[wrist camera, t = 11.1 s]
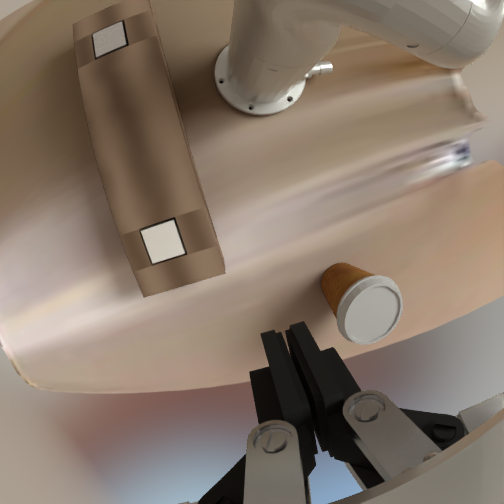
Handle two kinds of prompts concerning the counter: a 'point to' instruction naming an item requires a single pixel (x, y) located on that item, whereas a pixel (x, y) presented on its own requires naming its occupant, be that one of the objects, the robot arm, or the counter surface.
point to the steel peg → (110, 39)
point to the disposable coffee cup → (362, 303)
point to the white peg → (163, 240)
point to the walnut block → (144, 148)
